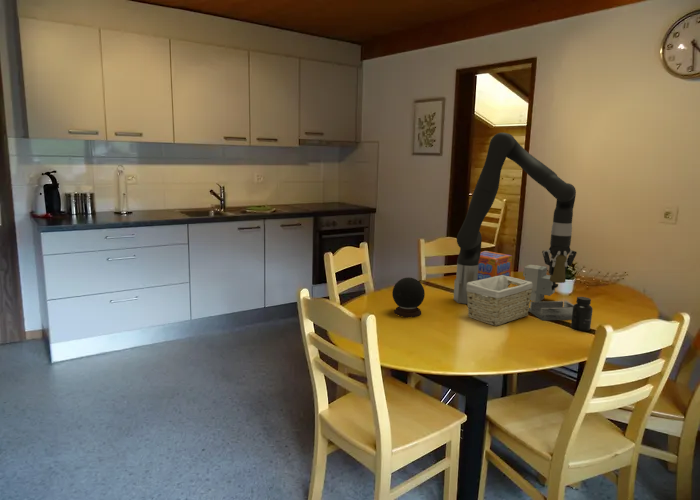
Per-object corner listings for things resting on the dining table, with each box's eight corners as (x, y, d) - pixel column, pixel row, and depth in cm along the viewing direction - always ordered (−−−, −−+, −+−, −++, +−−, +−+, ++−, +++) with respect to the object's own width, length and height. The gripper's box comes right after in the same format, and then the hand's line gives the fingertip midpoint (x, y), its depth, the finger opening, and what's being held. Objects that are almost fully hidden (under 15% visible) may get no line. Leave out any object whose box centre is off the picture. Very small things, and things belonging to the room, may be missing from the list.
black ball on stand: (398, 306, 215) (399, 272, 212) (427, 311, 209) (429, 276, 206) (386, 315, 203) (388, 279, 200) (417, 320, 198) (419, 283, 195)
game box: (510, 285, 254) (512, 255, 251) (493, 290, 243) (495, 259, 240) (483, 279, 265) (485, 250, 262) (466, 284, 255) (468, 254, 252)
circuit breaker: (553, 304, 221) (556, 271, 218) (521, 298, 230) (523, 267, 227) (557, 300, 227) (561, 268, 224) (526, 295, 236) (529, 264, 233)
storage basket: (495, 328, 190) (498, 290, 187) (462, 317, 203) (464, 281, 200) (532, 317, 204) (535, 282, 201) (499, 307, 217) (501, 274, 214)
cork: (549, 281, 201) (551, 255, 199) (549, 278, 207) (552, 252, 205) (565, 283, 199) (568, 256, 197) (565, 280, 205) (568, 253, 202)
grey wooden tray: (542, 320, 200) (543, 309, 199) (528, 311, 211) (529, 300, 210) (580, 319, 201) (581, 308, 201) (564, 310, 213) (565, 300, 212)
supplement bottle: (589, 332, 186) (592, 301, 184) (569, 329, 190) (572, 298, 188) (591, 327, 192) (594, 297, 190) (572, 324, 196) (575, 294, 193)
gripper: (549, 235, 195) (545, 277, 199) (583, 235, 197) (578, 277, 200) (539, 232, 203) (536, 273, 206) (572, 232, 204) (568, 273, 207)
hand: (557, 275), depth 203 cm, fingers closed on cork, 4 cm apart
